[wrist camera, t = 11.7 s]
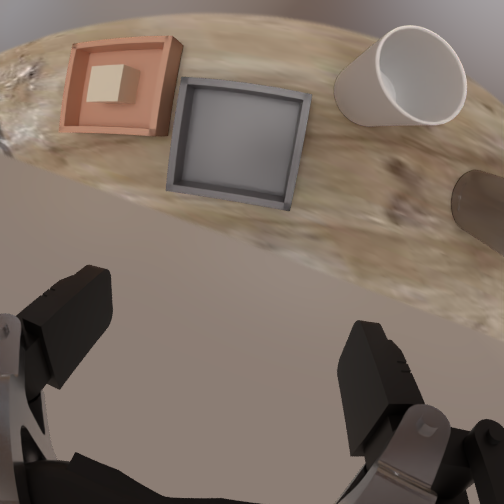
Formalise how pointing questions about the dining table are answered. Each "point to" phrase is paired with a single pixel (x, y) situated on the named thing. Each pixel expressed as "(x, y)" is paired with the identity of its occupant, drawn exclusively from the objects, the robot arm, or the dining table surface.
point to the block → (113, 84)
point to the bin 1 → (148, 92)
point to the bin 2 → (237, 141)
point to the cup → (403, 81)
